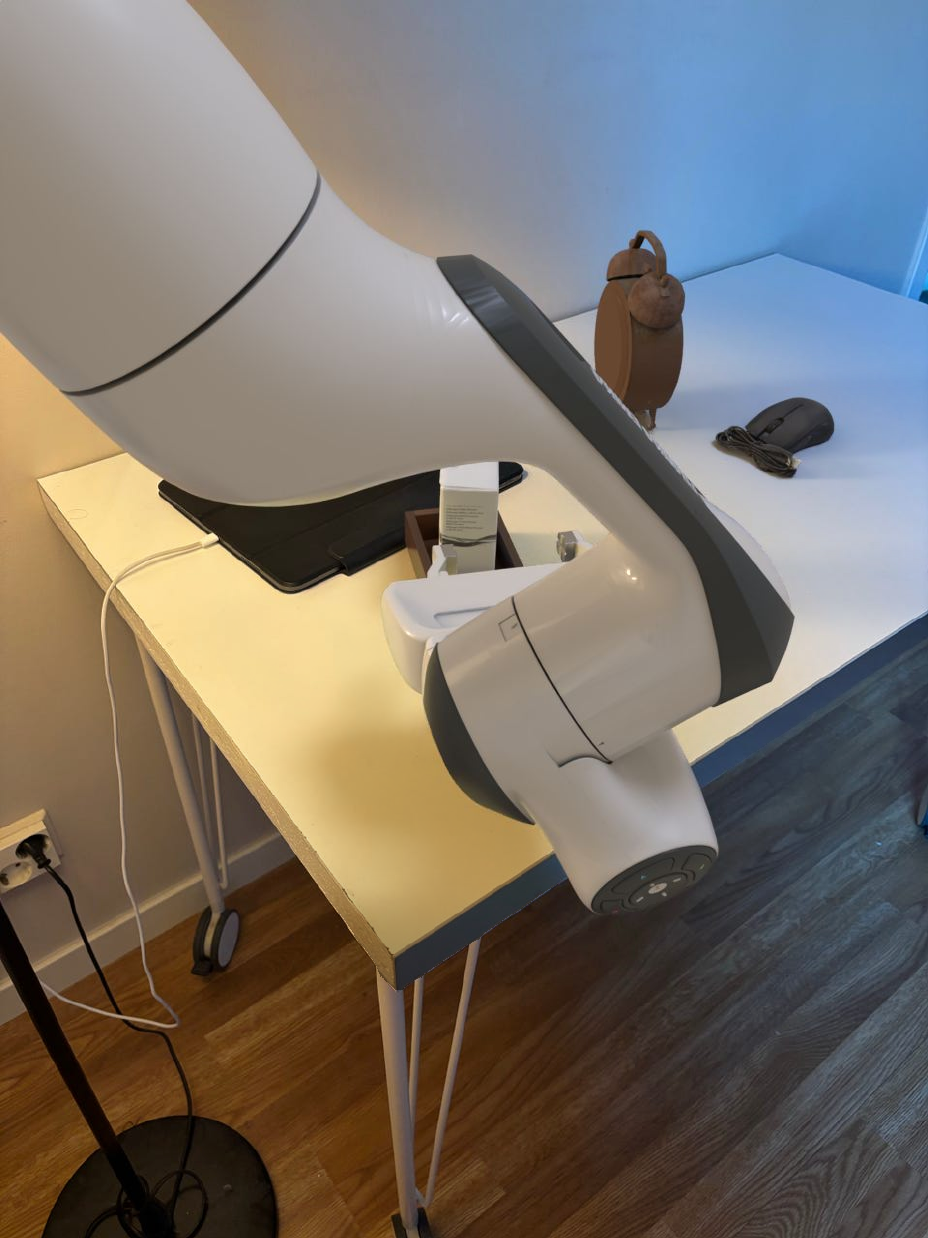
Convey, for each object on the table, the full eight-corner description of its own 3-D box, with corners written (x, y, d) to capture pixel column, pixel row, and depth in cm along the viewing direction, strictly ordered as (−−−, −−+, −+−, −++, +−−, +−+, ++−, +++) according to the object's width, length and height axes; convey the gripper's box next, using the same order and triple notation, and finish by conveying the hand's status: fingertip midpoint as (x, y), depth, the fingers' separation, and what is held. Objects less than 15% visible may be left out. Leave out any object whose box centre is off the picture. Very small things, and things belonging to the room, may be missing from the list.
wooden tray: (432, 627, 81) (432, 596, 79) (405, 541, 90) (404, 511, 88) (528, 615, 83) (531, 583, 81) (492, 532, 92) (494, 501, 90)
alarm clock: (677, 440, 106) (713, 260, 93) (614, 443, 105) (642, 262, 92) (639, 380, 117) (667, 211, 104) (582, 382, 116) (603, 212, 103)
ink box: (493, 604, 83) (500, 489, 75) (436, 602, 83) (438, 487, 75) (493, 546, 89) (499, 435, 82) (440, 544, 89) (442, 433, 82)
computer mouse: (860, 439, 108) (870, 408, 105) (786, 483, 100) (795, 451, 98) (784, 405, 113) (792, 375, 111) (709, 444, 106) (716, 413, 103)
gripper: (725, 615, 60) (644, 495, 70) (403, 658, 56) (367, 523, 66) (705, 687, 64) (631, 563, 74) (404, 731, 60) (369, 594, 70)
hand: (504, 545), depth 70 cm, fingers open, 8 cm apart
